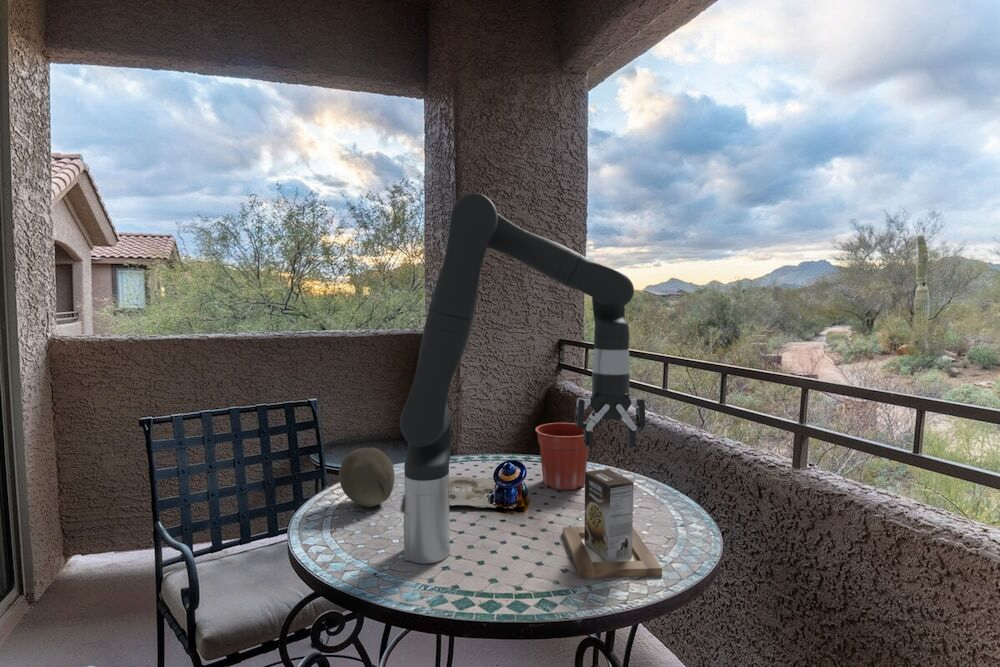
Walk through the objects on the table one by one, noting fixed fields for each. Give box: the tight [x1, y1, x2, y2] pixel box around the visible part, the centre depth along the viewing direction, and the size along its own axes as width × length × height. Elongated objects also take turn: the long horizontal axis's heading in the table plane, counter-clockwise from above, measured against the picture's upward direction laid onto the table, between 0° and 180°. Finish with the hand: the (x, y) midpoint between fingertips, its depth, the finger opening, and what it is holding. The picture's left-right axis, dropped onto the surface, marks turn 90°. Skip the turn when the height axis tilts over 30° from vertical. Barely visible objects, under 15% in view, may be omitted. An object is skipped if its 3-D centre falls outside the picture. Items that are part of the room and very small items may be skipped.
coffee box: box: [584, 468, 635, 562], centre depth 108 cm, size 9×6×16 cm
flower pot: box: [535, 422, 593, 491], centre depth 150 cm, size 16×16×16 cm
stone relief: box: [449, 476, 497, 509], centre depth 141 cm, size 32×3×20 cm
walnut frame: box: [562, 526, 663, 579], centre depth 109 cm, size 16×19×2 cm
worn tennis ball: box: [338, 447, 396, 508], centre depth 134 cm, size 14×14×15 cm
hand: (609, 447), depth 107 cm, fingers open, 8 cm apart
